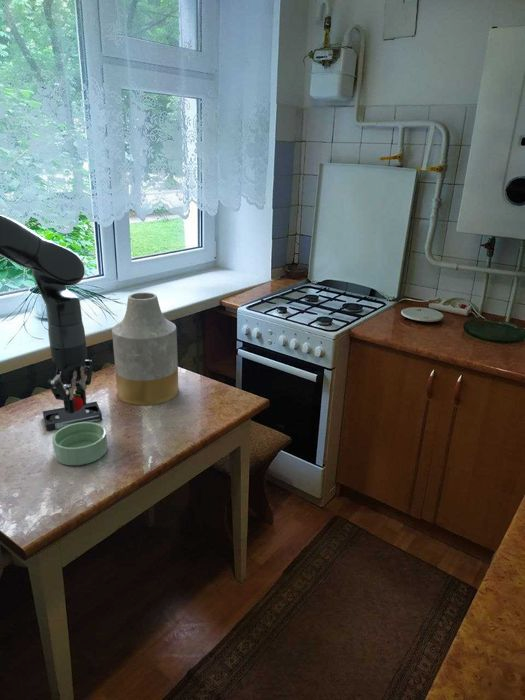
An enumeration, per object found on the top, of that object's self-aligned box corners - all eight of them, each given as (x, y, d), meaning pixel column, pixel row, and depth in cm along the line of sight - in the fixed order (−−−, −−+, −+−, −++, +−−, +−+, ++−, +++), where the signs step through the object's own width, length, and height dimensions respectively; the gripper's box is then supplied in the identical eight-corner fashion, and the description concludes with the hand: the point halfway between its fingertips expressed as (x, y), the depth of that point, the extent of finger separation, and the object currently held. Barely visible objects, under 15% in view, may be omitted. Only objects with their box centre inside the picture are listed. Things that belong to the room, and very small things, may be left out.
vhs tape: (46, 431, 129) (45, 424, 129) (43, 417, 136) (42, 411, 135) (102, 420, 136) (101, 413, 135) (97, 407, 142) (96, 401, 141)
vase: (104, 395, 149) (94, 298, 138) (145, 374, 164) (140, 284, 153) (151, 411, 141) (145, 309, 130) (190, 387, 156) (188, 293, 145)
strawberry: (75, 412, 114) (78, 395, 114) (62, 409, 115) (65, 393, 115) (85, 411, 117) (88, 395, 118) (72, 409, 118) (74, 393, 118)
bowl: (88, 471, 114) (86, 453, 112) (43, 461, 117) (40, 443, 115) (117, 444, 125) (115, 426, 123) (75, 435, 128) (73, 418, 126)
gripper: (73, 328, 117) (80, 393, 124) (31, 349, 105) (42, 420, 111) (100, 332, 116) (107, 398, 122) (61, 354, 103) (70, 426, 109)
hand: (76, 408), depth 117 cm, fingers closed on strawberry, 3 cm apart
